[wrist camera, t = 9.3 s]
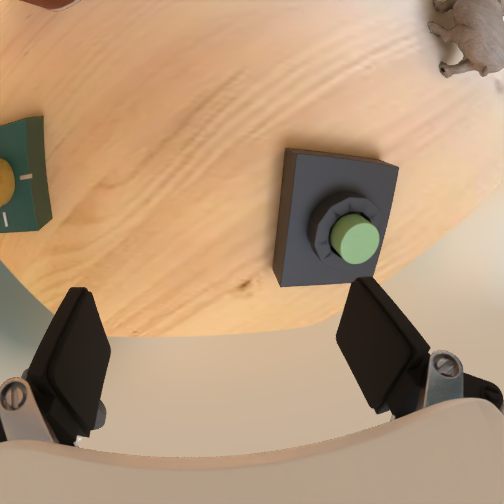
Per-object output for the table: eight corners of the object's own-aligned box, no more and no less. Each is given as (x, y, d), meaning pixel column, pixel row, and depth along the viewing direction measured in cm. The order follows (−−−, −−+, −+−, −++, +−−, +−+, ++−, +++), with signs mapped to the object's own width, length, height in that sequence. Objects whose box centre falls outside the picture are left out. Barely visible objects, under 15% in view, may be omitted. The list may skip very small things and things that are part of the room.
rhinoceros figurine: (412, 44, 17) (531, 1, 4) (399, 1, 20) (482, -34, 7) (451, 99, 20) (557, 70, 7) (433, 42, 24) (512, 14, 11)
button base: (358, 266, 30) (380, 291, 26) (272, 269, 28) (285, 299, 24) (380, 160, 25) (411, 172, 20) (285, 147, 23) (304, 156, 19)
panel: (55, 218, 22) (40, 231, 19) (-2, 223, 21) (-18, 235, 18) (46, 115, 17) (27, 117, 15) (-14, 133, 16) (-32, 138, 13)
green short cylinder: (362, 252, 24) (373, 263, 22) (326, 253, 23) (336, 265, 21) (371, 214, 22) (384, 223, 20) (334, 212, 21) (345, 222, 20)
